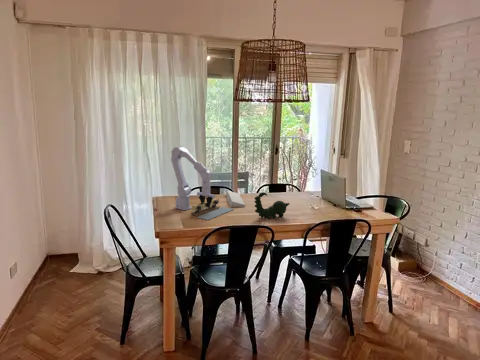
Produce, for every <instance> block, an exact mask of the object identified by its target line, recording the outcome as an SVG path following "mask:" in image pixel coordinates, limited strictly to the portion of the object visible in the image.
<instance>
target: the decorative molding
mask: <svg viewBox="0 0 480 360" xmlns="http://www.w3.org/2000/svg"><path fill="white" fill-rule="evenodd" d="M226 196H227V197H226ZM225 197H226V199H227V201H228V204H229V206H230V207H229V208H236V207H237V208H243V207H245V205H246V204H245V202H244V200H243V198H242V197H241V195H240V193H239V192H234V191H231V190H227V191H226V193H225Z"/></svg>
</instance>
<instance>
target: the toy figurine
mask: <svg viewBox="0 0 480 360" xmlns="http://www.w3.org/2000/svg"><path fill="white" fill-rule="evenodd" d="M264 196H267V197H268V194H267V193H266V192H263V191H261V192H260V193H259V194H258V195H256V196H255V197H254V204H255V205H254V208H256V209H254V212H255V213H256V214H258V217H260V218H261V219H263V218H264V217H265V218H266V219H268V220H269V219H270V217H272V218H274V219H275V218H276V217H277V216H278V217H281V218H283V217H284V214H286V211H287V207H288V206H289V205H290V202H284V201H282V200H276V201H275V202H273V204H272V205H270V206H268V207H267V208H264V207H263V205H262V200H261V198H262V197H264Z"/></svg>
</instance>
